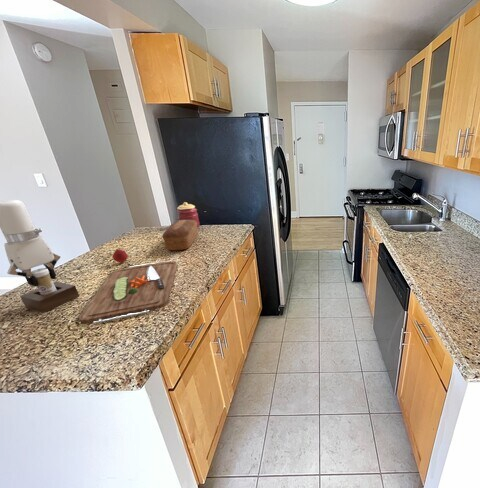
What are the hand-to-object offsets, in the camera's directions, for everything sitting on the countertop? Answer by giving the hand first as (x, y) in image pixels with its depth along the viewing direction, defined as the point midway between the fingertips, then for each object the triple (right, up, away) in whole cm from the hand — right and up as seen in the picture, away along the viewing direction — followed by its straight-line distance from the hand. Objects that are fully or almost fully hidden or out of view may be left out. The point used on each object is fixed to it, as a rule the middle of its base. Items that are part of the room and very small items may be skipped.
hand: (43, 281), depth 97 cm
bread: (+20, +15, +60) cm, 65 cm away
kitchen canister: (+8, +26, +89) cm, 93 cm away
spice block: (0, -8, +3) cm, 9 cm away
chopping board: (+26, -5, +13) cm, 29 cm away
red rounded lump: (+2, +4, +35) cm, 35 cm away
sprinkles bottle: (0, -8, +3) cm, 9 cm away
